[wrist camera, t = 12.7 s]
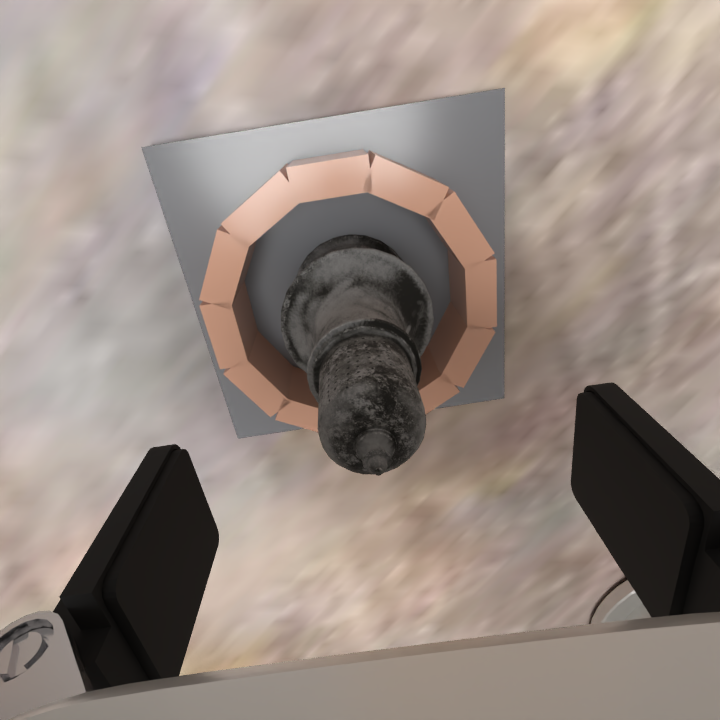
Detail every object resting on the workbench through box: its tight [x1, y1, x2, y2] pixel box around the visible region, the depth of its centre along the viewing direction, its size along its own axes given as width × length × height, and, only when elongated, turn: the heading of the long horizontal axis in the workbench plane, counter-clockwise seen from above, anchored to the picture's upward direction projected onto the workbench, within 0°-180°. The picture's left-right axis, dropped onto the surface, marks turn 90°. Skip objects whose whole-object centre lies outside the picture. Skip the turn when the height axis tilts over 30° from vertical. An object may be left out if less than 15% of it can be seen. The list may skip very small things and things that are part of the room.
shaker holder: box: [142, 88, 505, 438], centre depth 20 cm, size 14×14×4 cm
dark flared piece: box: [281, 234, 434, 475], centre depth 16 cm, size 6×6×12 cm
